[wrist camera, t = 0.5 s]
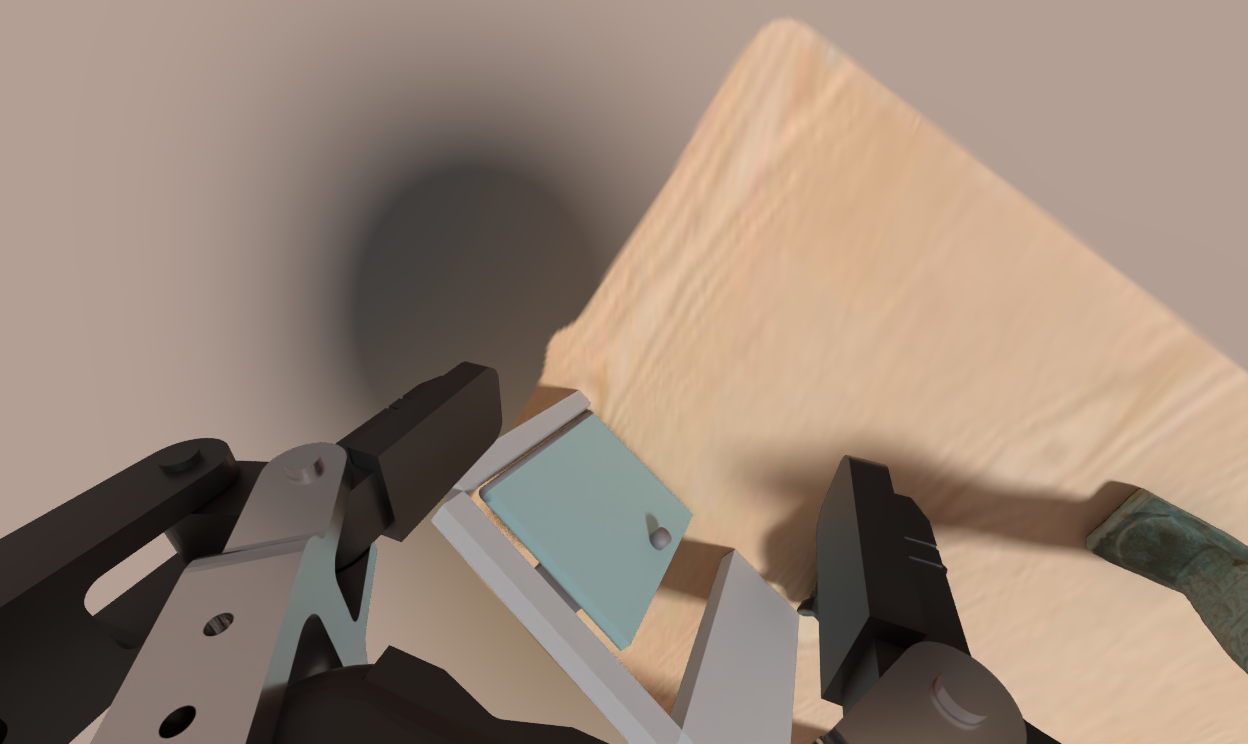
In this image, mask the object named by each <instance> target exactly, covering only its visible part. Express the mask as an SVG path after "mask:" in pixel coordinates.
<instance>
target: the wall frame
mask: <svg viewBox="0 0 1248 744" xmlns="http://www.w3.org/2000/svg"><path fill="white" fill-rule="evenodd" d="M590 404H591V402H590V401H589V400H588V399H587V398H586V397H585V396H584V395H583V394H582V393H581V392H580V391H579V390H578V391H576V392H575V393H573V394H571V395H570V396H568V397H566V398H565V399H563V400H561V401H560V402H558V403H556V404H555V405H553V406H551V407H550V408H548V409H546V410H545V411H543V412H541V413H540V414H538V415H536V416H535V417H533V418H531V419H530V420H528V421H526V422H525V423H523V424H521V425H520V426H518V427H516V428H515V429H513V430H511V431H510V432H508V433H506V434H505V435H503V436H501V437H500V438H498V439H496V441H495V442H494V444H493V445H492V446H491V447H490V448H489V449H488V450H487V451H486V452H485V453H484V454H483V456H482V457H481V458H480V459H479V460H478V461H477V462H476V463H475V464H474V465H473V466H472V467H471V468H470V469H469V471H468V472H467V473H466V474H465V475H464V476H463V477H462V478H461V479H460V480H459V481H458V482H457V483H456V484H455V485H454V487H453V488H452V489H451V490H450V491H449V492H448V493H447V494H446V495H445V496H444V498H445V499H446V500H447V501H448V502H447V503H445V504H444V505H442V507H441V508H440V509H439V511H438V512H437V513H436V514H435V516H434V517H433V518H432V520H431V522H432V523H433V524H434V525H435V526H436V527H437V528H438V529H439V531H440V532H441V533H442V534H443V535H444V536H445V537H446V538H447V540H448V541H449V542H450V543H451V544H452V545H453V546H454V547H455V549H456V550H457V551H458V552H459V553H460V554H461V555H462V556H463V558H464V559H465V560H466V561H467V562H468V563H469V564H470V565H471V566H472V568H473V569H474V570H475V571H476V572H477V573H478V574H479V575H480V577H481V578H482V579H483V580H484V581H485V582H486V583H487V584H488V586H489V587H490V588H491V589H492V590H493V591H494V592H495V593H496V595H497V596H498V597H499V598H500V599H501V600H502V601H503V602H504V603H505V605H506V606H507V607H508V608H509V609H510V610H511V611H512V612H513V614H514V615H515V616H516V617H517V618H518V619H519V620H520V621H521V623H522V624H523V625H524V626H525V627H526V628H527V629H528V630H529V632H530V633H531V634H532V635H533V636H534V637H535V638H536V639H537V640H538V642H539V643H540V644H541V645H542V646H543V647H544V648H545V649H546V651H547V652H548V653H549V654H550V655H551V656H552V657H553V658H554V660H555V661H556V662H557V663H558V664H559V665H560V666H561V667H562V668H563V670H564V671H565V672H566V673H567V674H568V675H569V676H570V677H571V679H572V680H573V681H574V682H575V683H576V684H577V685H578V686H579V688H580V689H581V690H582V691H583V692H584V693H585V694H586V695H587V697H588V698H589V699H590V700H591V701H592V702H593V703H594V704H595V705H596V707H597V708H598V709H599V710H600V711H601V712H602V713H603V714H604V716H605V717H606V718H607V719H608V720H609V721H610V722H611V723H612V725H613V726H614V727H615V728H616V729H617V730H618V731H619V732H620V733H621V734H622V736H623V737H624V738H625V739H626V740H627V741H628V742H629V744H791V731H792V716H793V701H794V687H795V672H796V657H797V642H798V627H799V613H798V612H797V611H796V610H795V609H794V608H793V607H792V606H791V605H790V604H789V603H788V602H787V601H786V600H785V599H784V598H783V597H782V596H781V595H780V594H779V593H778V592H777V591H776V590H775V589H774V588H773V587H772V586H771V585H770V584H769V583H768V582H767V581H766V580H765V579H764V578H763V577H762V576H761V575H760V574H759V573H758V572H757V571H756V570H755V569H754V568H753V567H752V566H751V565H750V564H749V563H748V562H747V561H746V560H745V559H744V558H743V557H742V556H741V554H740V553H739V552H738V551H737V550H736V549H734V550H733V551H731V552H730V553H728V554H727V555H725V556H724V557H723V558H722V559H721V562H720V565H719V568H718V571H717V574H716V577H715V580H714V583H713V587H712V590H711V593H710V596H709V599H708V602H707V605H706V608H705V611H704V614H703V617H702V620H701V623H700V626H699V630H698V633H697V636H696V639H695V642H694V645H693V648H692V651H691V654H690V657H689V660H688V663H687V666H686V669H685V673H684V676H683V679H682V682H681V685H680V688H679V691H678V694H677V697H676V700H675V703H674V706H673V709H672V713H671V716H669V715H668V714H667V713H666V712H665V711H664V710H663V709H662V708H661V707H660V705H659V704H658V703H657V702H656V701H655V700H654V699H653V698H652V697H651V696H650V695H649V693H648V692H647V691H646V690H645V689H644V688H643V687H642V686H641V685H640V684H639V682H638V681H637V680H636V679H635V678H634V677H633V676H632V675H631V674H630V673H629V671H628V670H627V669H626V668H625V667H624V666H623V665H622V664H621V663H620V662H619V661H618V659H617V658H616V657H615V656H614V655H613V654H612V653H611V652H610V651H609V650H608V648H607V647H606V646H605V645H604V644H603V643H602V642H601V641H600V640H599V639H598V637H597V636H596V635H595V634H594V633H593V632H592V631H591V630H590V629H589V628H588V627H587V625H586V624H585V623H584V622H583V621H582V620H581V619H580V618H579V617H578V616H577V614H576V613H575V612H574V611H573V610H572V609H571V608H570V607H569V606H568V605H567V603H566V602H565V601H564V600H563V599H562V598H561V597H560V596H559V595H558V594H557V593H556V591H555V590H554V589H553V588H552V587H551V586H550V585H549V584H548V583H547V582H546V580H545V579H544V578H543V577H542V576H541V575H540V574H539V573H538V572H537V571H536V569H535V568H534V567H533V566H532V565H531V564H530V563H529V562H528V561H527V560H526V559H525V557H524V556H523V555H522V554H521V553H520V552H519V551H518V550H517V549H516V548H515V546H514V545H513V544H512V543H511V542H510V541H509V540H508V539H507V538H506V537H505V536H504V534H503V533H502V532H501V531H500V530H499V529H498V528H497V527H496V526H495V525H494V523H493V522H492V521H491V520H490V519H489V518H488V517H487V516H486V515H485V514H484V512H483V511H482V510H481V509H480V508H479V507H478V506H477V505H476V504H475V503H474V502H473V500H472V499H471V498H470V497H469V496H468V494H469V493H470V492H472V491H473V490H475V489H476V488H478V487H479V486H481V485H482V484H483V483H485V482H486V481H488V480H489V479H490V478H492V477H493V476H495V475H496V474H498V473H499V472H500V471H502V470H503V469H505V468H506V467H507V466H509V465H510V464H512V463H513V462H515V461H516V460H517V459H519V458H520V457H522V456H523V455H524V454H526V453H527V452H529V451H530V450H532V449H533V448H534V447H536V446H537V445H539V444H540V443H541V442H543V441H544V440H546V439H547V438H549V437H550V436H551V435H553V434H554V433H556V432H557V431H558V430H560V429H561V428H563V427H564V426H566V425H567V424H568V423H570V422H571V421H573V420H574V419H575V418H577V417H578V416H580V415H581V414H582V413H583V412H584V411H585V410H586V408H587V407H588V406H589V405H590Z"/></svg>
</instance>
